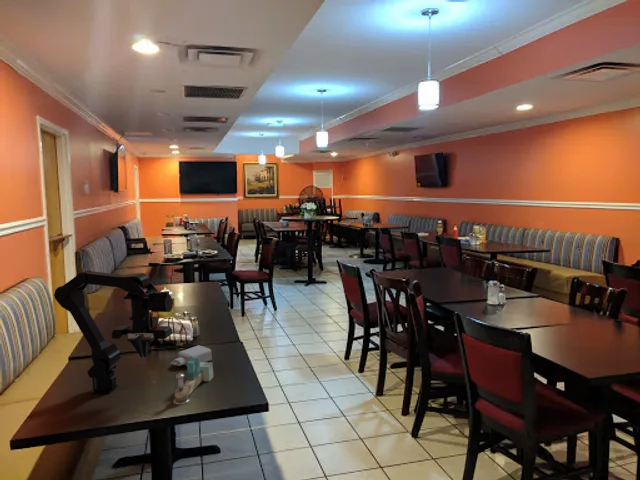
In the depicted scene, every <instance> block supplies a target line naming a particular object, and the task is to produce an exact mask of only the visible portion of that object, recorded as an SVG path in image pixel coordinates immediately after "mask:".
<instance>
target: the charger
mask: <svg viewBox="0 0 640 480" xmlns="http://www.w3.org/2000/svg"><path fill="white" fill-rule="evenodd" d="M177 356H178V358H174V359H172V362H170V365H172V366H177V367H180V366H183V365H184V366H186V367H187V363H188V362H189V361H190V360H191V359H192V358H193V357H194V356H195V357H200V362H209V361H212V360H213V357H212V349H211V348H208V347H205V346H202V345H199V344H198V345H196V346H192V347H190V348H187V349H184V350H181V351H178V353H177Z"/></svg>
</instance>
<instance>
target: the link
mask: <svg viewBox="0 0 640 480" xmlns="http://www.w3.org/2000/svg"><path fill="white" fill-rule="evenodd" d="M186 368H187V380H186V381H185V382H183V388H184V389H183V390H178V388H177V389H175V390H174V399H175V401H176V402H184V401H186V400H188V397H189V396H190V395H191V393H193V391H194V390H195V389H196V388H197V387H198V386H199V385H200V383H201V382H203V372H202V371H200V357H195V356H194V357H193V358H192V359H191V360H190V361H189V362H188V363H187V366H186Z"/></svg>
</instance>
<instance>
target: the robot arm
mask: <svg viewBox="0 0 640 480" xmlns="http://www.w3.org/2000/svg"><path fill="white" fill-rule="evenodd" d="M90 285H94V286H102V287H110V288H118V289H120V290H122V291H124V292H126V293H127V294H126V295H125V296H124V297H123V300H129V301H130V313H131V314H130V315H131V316H129V321H131V326H132V327H131V326H130V325H119V326H118V327H115V328H114V329H112V331H111V333H110V334H111V339H112V340H113V339H115V340H117V339H119V340H120V339H121V338H122V337H123V336H127V337H128V338H127V340H126V341H127V342H130V344H131V345H132V346H133V348H134V349H135V351H136V352H137V354H138V355H139V357H140V358H147V356H148V353H149V350H150V346H151V344H152V341H153V340H154V339H155V340H165V339H167V338H169V337H170V336H171V335H172V334H173V329H172V327H171V326H169V325H159V319H160V317H158V316H153V313H170V312H171V311H172V309H173V306H174V300H173V299H172V296H171V294H170V291H169V290H165V291H159V290H158V289H157V287H155V284H154V283H152V281H151V279H150V277H149V275H148V274H146V273H144V272H137V273H128V274H117V273H109V272H100V271H93V270H90V269H87V270H84V271H81V272H79V273H77V274H76V275H75V276H73V278H72V279H70V280H69V281H67V282H66V283H64V284H63V285H60V286H58V287H57V288H56V289H55V290H54V293H53V296H54V299H55V301H56V302H57V303H58V304H59V305H60V307H61V308H63V309H65V310H66V311H67V312H69V313H70V314H71V316H72V318H73V320H74V321H75V323H76V325H77V327H78V328H79V330H80V332H81V333H82V335H83V337H84V340H86V342H87V344H88V346H89V347H90V349H91V351H90V352H91V361H92V363H93V365H92V366H91V367H90V368H89V369H88V370H87V375H88V378H91V380H92V382H91V383H92V390H91V391H90V394H91V395H93V394H96V395H108V394H110V393H111V392H113V391H114V390H115V389H116V388H117V387H119V385H118V384H117V378H116V377H117V376H116V375H115V370H114V369H116V368H117V365H118V364H119V362H120V361H121V355H120V353H121V351H120V350H119V348H118V347H117V344H116V343H115V342H112V343H109V342H108V341H106V340H105V338H104V336H103V334H102V332H101V331H100V328H99V327H98V325H97V324H96V322H95V321H94V319H93V317H92V315H91V313H90V311H89V310H88V308H87V307H86V304H85V302H86V300H85V299H86V298H85V294H84V291H85V289H86V288H88V286H90ZM155 327H157V328H155ZM154 328H155V329H154Z"/></svg>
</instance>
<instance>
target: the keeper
mask: <svg viewBox="0 0 640 480" xmlns="http://www.w3.org/2000/svg"><path fill="white" fill-rule="evenodd" d="M213 367H214V365H213V362H209V361H207V362H200V371H202V372H203V380H202V382H210V381H211V380H212V379H213V378H214V368H213Z"/></svg>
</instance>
